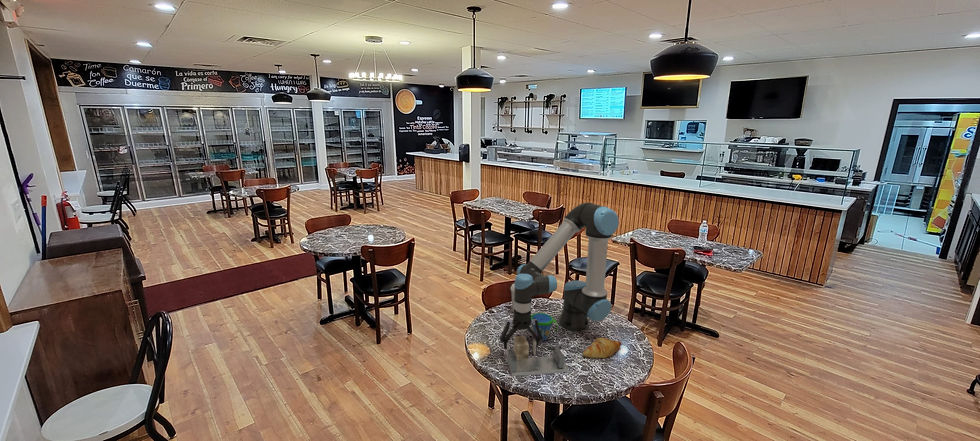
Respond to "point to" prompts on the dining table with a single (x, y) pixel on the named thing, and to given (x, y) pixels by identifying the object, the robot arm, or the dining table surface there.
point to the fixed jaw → (512, 360)
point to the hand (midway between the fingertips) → (520, 354)
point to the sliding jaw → (557, 355)
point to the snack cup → (543, 324)
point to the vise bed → (537, 366)
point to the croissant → (602, 348)
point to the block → (521, 347)
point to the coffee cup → (512, 296)
